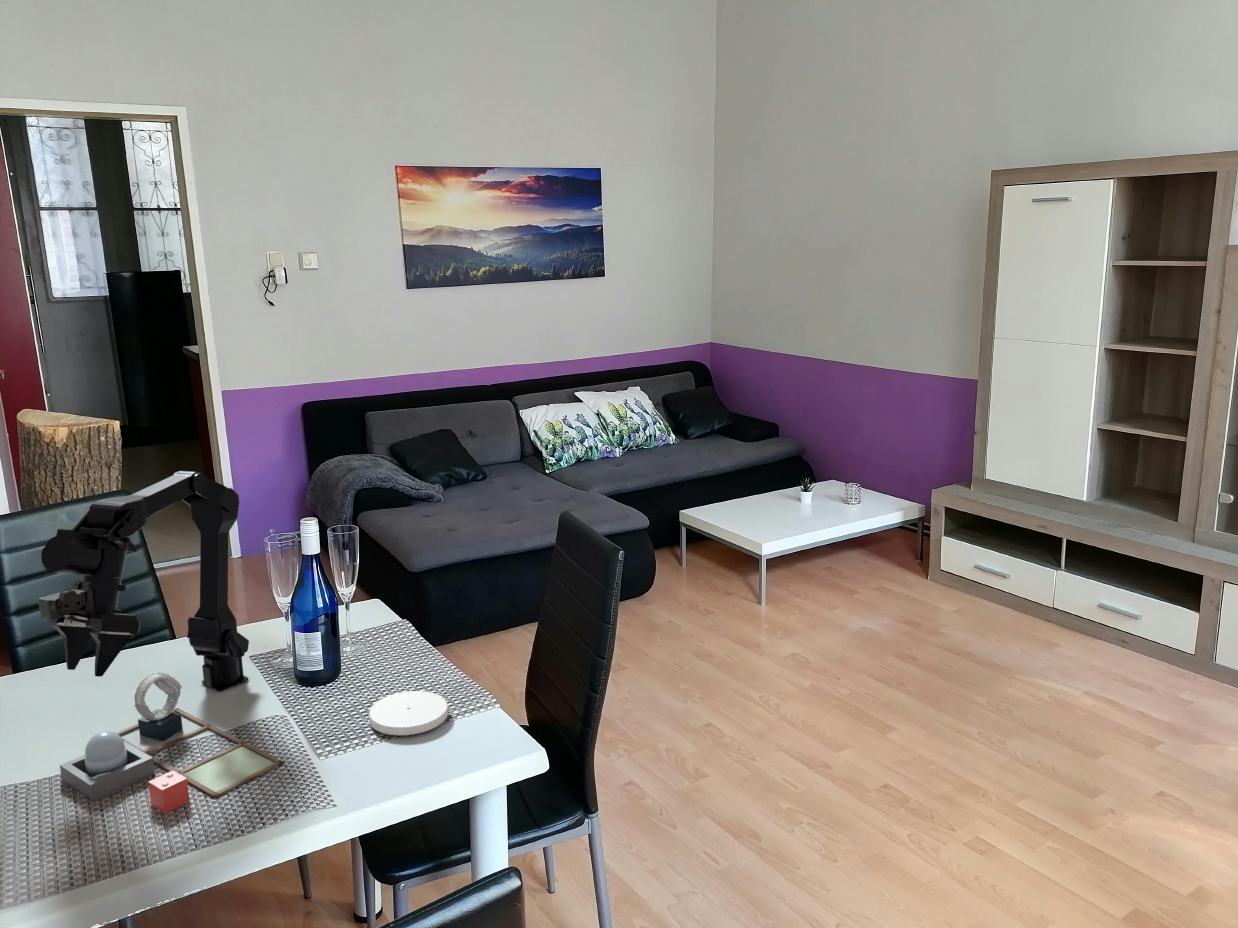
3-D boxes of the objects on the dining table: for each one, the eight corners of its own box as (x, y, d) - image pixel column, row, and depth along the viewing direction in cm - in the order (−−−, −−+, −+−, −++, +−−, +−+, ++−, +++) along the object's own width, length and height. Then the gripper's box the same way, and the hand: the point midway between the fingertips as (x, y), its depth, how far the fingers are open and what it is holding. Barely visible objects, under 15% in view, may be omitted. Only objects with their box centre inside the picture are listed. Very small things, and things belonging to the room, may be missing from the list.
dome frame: (123, 755, 162) (121, 739, 162) (154, 773, 157) (152, 757, 156) (62, 781, 154) (59, 764, 154) (92, 802, 149) (90, 785, 148)
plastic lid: (464, 716, 176) (463, 704, 175) (406, 748, 165) (405, 735, 164) (412, 696, 184) (411, 684, 184) (353, 725, 173) (352, 712, 173)
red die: (175, 792, 151) (172, 769, 150) (189, 801, 149) (186, 777, 148) (151, 804, 148) (148, 780, 147) (165, 813, 146) (162, 789, 145)
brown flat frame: (177, 709, 178) (177, 707, 178) (283, 763, 160) (283, 761, 160) (110, 737, 168) (109, 735, 168) (214, 798, 150) (214, 795, 150)
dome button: (116, 751, 159) (111, 720, 158) (134, 762, 156) (130, 731, 154) (78, 766, 154) (74, 735, 153) (97, 778, 151) (93, 746, 150)
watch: (191, 724, 173) (184, 668, 170) (155, 746, 165) (148, 687, 163) (167, 719, 175) (161, 663, 172) (131, 740, 167) (123, 682, 165)
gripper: (24, 568, 156) (5, 665, 154) (79, 575, 145) (59, 679, 143) (93, 575, 165) (76, 666, 163) (150, 581, 154) (132, 680, 152)
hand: (84, 672), depth 155 cm, fingers open, 9 cm apart
